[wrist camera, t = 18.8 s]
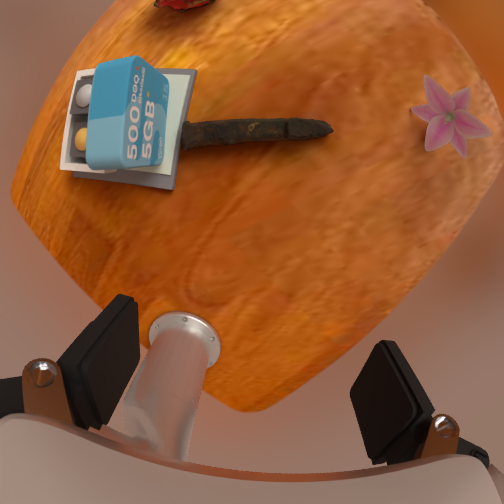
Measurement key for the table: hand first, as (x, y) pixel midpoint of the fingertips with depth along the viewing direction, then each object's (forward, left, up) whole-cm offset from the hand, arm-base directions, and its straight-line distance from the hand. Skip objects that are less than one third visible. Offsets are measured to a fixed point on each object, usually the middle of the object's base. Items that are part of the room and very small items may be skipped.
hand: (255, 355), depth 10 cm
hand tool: (+11, +2, -29) cm, 31 cm away
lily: (+21, -23, -29) cm, 42 cm away
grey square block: (+13, +25, -25) cm, 38 cm away
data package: (+10, +17, -27) cm, 33 cm away
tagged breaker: (+7, +25, -27) cm, 38 cm away
